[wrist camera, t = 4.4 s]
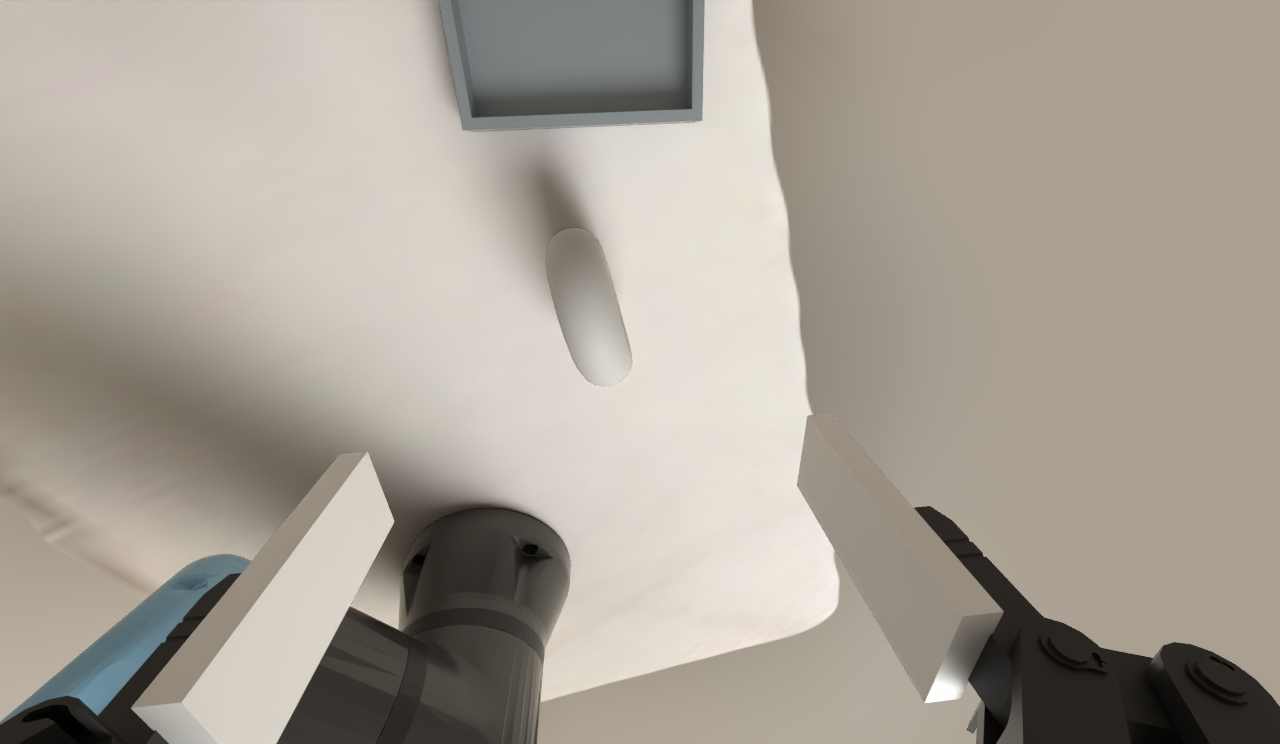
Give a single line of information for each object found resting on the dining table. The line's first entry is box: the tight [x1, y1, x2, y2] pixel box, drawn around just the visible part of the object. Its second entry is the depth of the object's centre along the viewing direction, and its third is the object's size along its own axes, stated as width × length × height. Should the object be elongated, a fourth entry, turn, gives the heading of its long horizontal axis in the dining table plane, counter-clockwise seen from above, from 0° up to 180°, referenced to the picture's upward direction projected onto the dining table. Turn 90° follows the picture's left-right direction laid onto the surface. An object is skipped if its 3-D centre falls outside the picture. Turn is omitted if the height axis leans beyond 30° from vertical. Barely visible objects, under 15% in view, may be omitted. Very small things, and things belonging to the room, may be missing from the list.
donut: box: [546, 228, 632, 387], centre depth 28 cm, size 10×4×10 cm, turn 14°
